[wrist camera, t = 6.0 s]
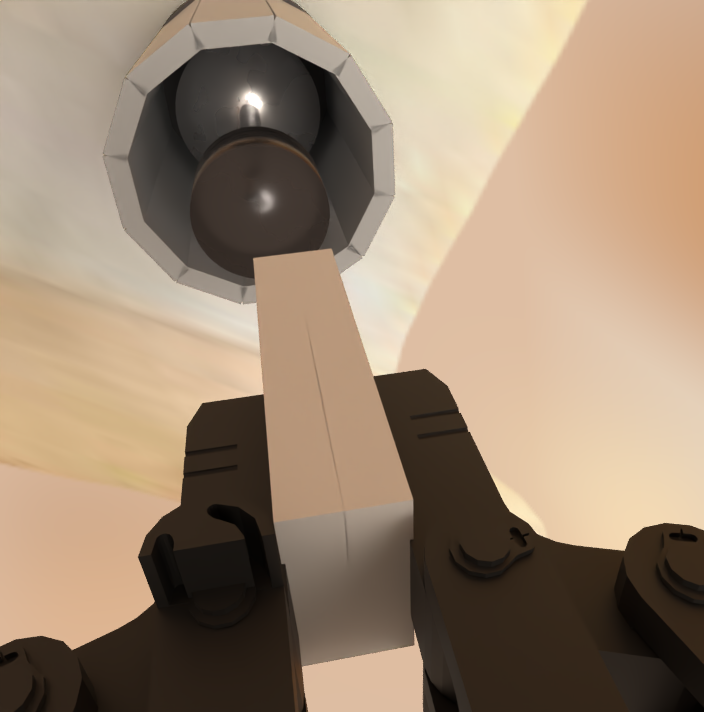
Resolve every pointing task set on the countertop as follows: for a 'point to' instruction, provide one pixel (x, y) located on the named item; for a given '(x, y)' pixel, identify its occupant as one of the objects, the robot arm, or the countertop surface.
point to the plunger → (252, 154)
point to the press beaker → (178, 165)
